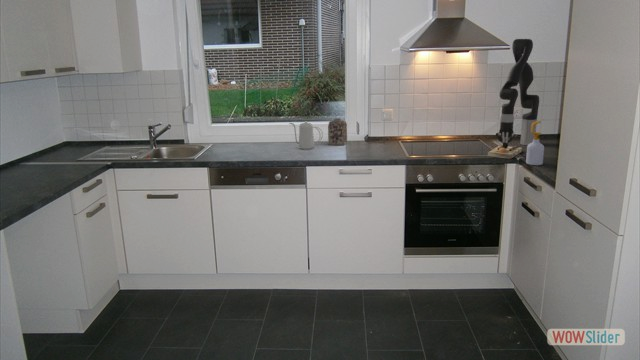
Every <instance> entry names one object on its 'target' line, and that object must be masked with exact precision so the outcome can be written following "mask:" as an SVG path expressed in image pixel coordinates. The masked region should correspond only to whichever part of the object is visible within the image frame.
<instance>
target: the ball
mask: <svg viewBox="0 0 640 360" xmlns="http://www.w3.org/2000/svg"><path fill="white" fill-rule="evenodd" d="M498 152H500V153H507V150H506V149H505V148H500V149H499V150H498Z"/></svg>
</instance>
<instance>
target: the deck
mask: <svg viewBox="0 0 640 360" xmlns="http://www.w3.org/2000/svg"><path fill="white" fill-rule="evenodd" d="M500 148H503V144H502V145H498V146H497V147H495V148H493V149H491V150H490V151H488V152H487V157H491V158H492V157H493V158H500V159H501V158H502V159H509V160H510V159H512V158H514V157H515V156H517V155H519V154H520V153H522V152H523V147H521V146H519V147H518V144H515V145H514V146H512V145H511V146H510V145H508V148H507V149H506V150H507V153H500V152H498V150H499V149H500Z"/></svg>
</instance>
